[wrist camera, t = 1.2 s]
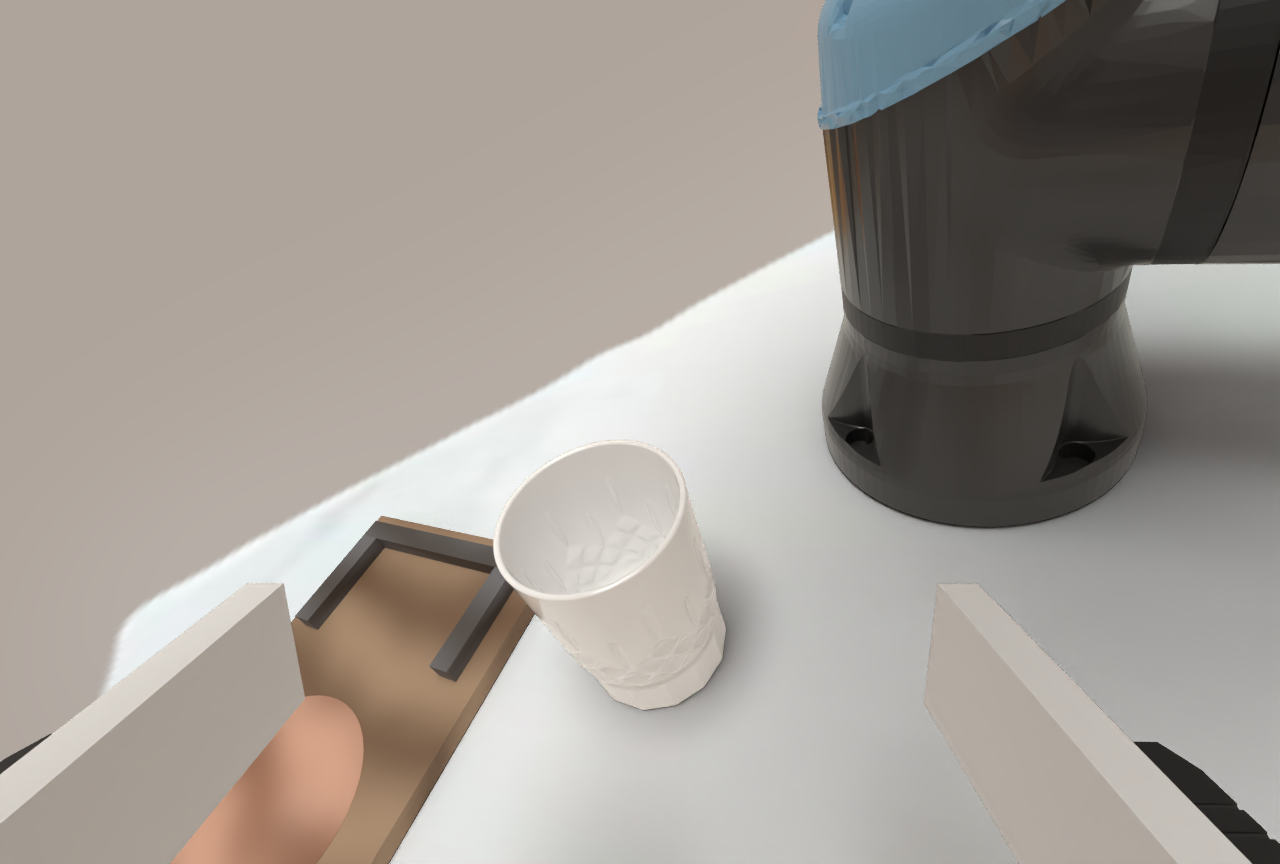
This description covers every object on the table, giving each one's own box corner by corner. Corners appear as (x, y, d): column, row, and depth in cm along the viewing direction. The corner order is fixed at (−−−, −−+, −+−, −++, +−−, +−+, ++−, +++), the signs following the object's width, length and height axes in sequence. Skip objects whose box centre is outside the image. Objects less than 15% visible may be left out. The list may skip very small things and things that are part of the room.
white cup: (554, 694, 30) (454, 574, 24) (624, 561, 35) (556, 431, 28) (703, 749, 26) (630, 623, 20) (760, 591, 31) (715, 448, 24)
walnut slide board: (389, 525, 43) (373, 506, 42) (563, 563, 36) (550, 542, 35) (94, 881, 30) (58, 869, 29) (274, 1059, 23) (235, 1053, 21)
